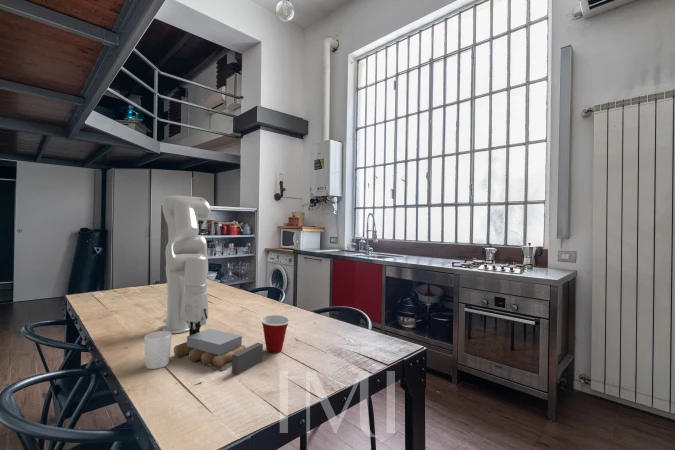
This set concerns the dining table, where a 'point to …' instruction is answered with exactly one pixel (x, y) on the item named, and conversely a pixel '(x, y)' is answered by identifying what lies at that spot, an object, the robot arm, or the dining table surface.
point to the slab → (214, 341)
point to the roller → (225, 357)
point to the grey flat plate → (221, 366)
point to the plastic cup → (274, 332)
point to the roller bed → (194, 353)
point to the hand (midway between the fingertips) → (194, 338)
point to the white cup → (157, 349)
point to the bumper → (247, 358)
